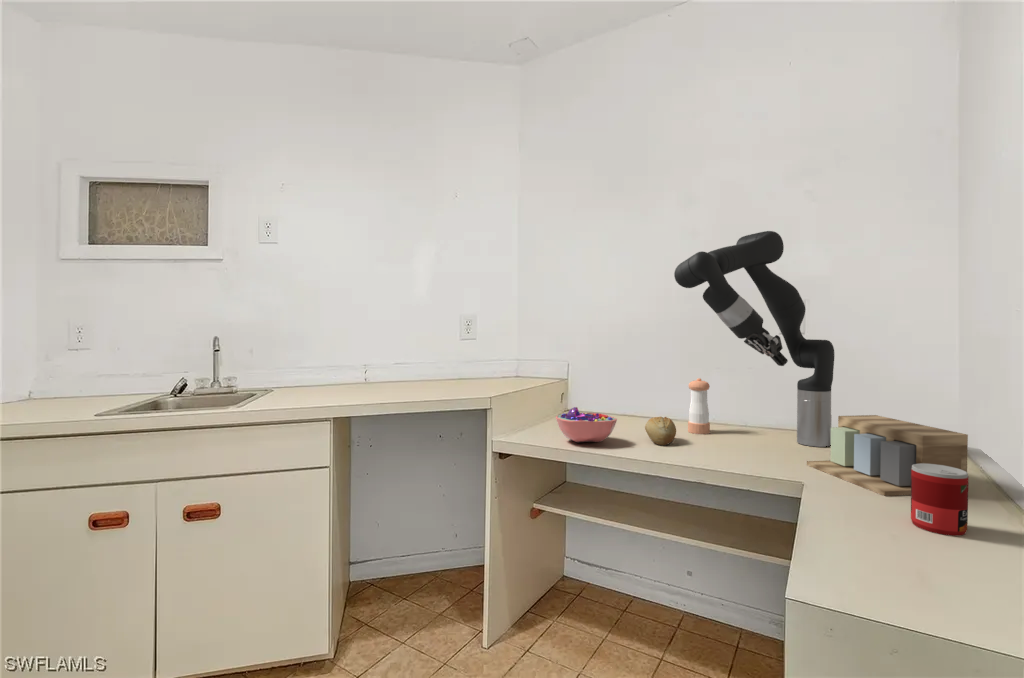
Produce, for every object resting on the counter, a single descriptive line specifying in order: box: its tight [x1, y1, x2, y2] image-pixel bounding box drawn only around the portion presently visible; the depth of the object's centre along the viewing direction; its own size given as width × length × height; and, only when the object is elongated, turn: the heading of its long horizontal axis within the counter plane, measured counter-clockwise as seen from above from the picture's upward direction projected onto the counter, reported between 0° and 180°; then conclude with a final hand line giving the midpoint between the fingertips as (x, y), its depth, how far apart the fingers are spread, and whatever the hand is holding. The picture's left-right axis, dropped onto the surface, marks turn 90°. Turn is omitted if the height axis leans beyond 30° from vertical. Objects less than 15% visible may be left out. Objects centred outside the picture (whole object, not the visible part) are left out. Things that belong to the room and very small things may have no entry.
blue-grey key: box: [854, 434, 886, 475], centre depth 122 cm, size 5×10×9 cm, turn 95°
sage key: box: [830, 426, 860, 466], centre depth 130 cm, size 5×10×9 cm, turn 95°
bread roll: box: [644, 416, 677, 446], centre depth 162 cm, size 10×15×8 cm, turn 175°
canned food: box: [910, 463, 969, 537], centre depth 91 cm, size 8×8×11 cm
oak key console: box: [806, 414, 969, 497], centre depth 122 cm, size 25×20×13 cm
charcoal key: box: [880, 441, 916, 486], centre depth 114 cm, size 5×10×9 cm, turn 96°
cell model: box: [555, 406, 618, 443], centre depth 161 cm, size 17×20×11 cm
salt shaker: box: [687, 377, 711, 435], centre depth 176 cm, size 7×7×19 cm
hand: (783, 363), depth 127 cm, fingers closed
